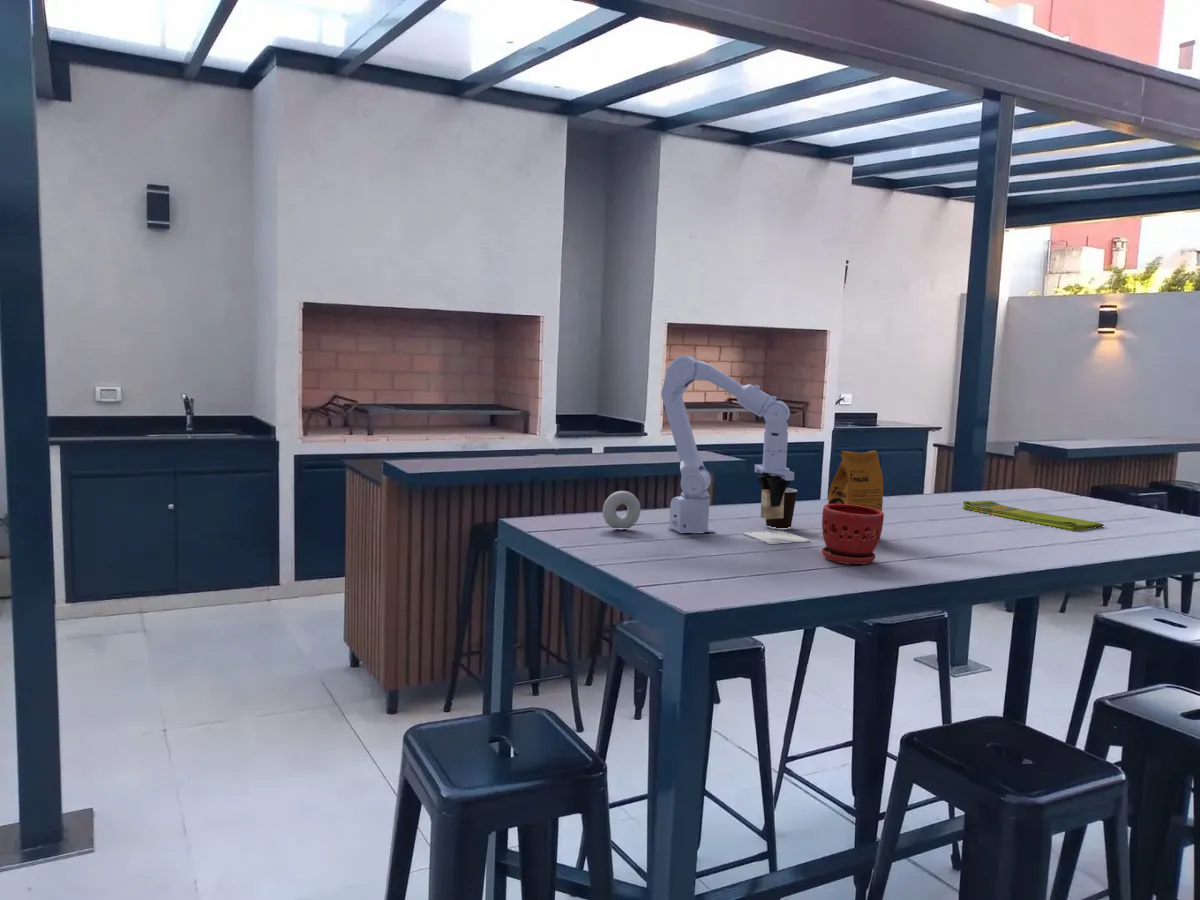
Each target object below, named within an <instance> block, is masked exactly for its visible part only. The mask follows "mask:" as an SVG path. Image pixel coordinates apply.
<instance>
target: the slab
mask: <svg viewBox="0 0 1200 900" xmlns="http://www.w3.org/2000/svg"><path fill="white" fill-rule="evenodd" d="M760 498H761V500H760V501H761V502H760V504H761V505H760V518H761V519H764V520H766V519H777V518H783V514H784V495H783V497H782V501H781V504H780V506H779V507H772V506H771V500H770V489H763V490H762V489H761V497H760Z"/></svg>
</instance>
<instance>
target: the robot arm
mask: <svg viewBox="0 0 1200 900" xmlns="http://www.w3.org/2000/svg"><path fill="white" fill-rule="evenodd" d="M665 371H666V373H665V378H664V381H663V385H662V388H661V391H660V392H661V393H660V394H661V399H662V402H663V405H664V409H665V412H666V416H667V421H668V423H669V427H670V430H671V434H672V437H673V442H674V444H675V447H676V452H677V455H678V458H679V462H680V463H679V471H680V474H681V475H680V476H681V478H680V488H681V491H682V492H681V493H680V496H679V495H678V496H675V497H673V498H672V499H671V501H670V504H669V505H670V506H669V507H670V508H669V522H668V523H669V525H668V526H667V528H668V527H670V528H672V529H674V530H676V531H678V532H680V533H679V534H681V533H692V534H701V533H700V532H710V533H715V532H716V530H715V529H711V528H710V527H709V522H710V521H709V520H710V499H711V498H710V497H711V495H710V493H709V492H708V489H709V487H710V485H711V484H712V483H711V482H712V476H711V474H710V472H709V471H708V469H706V467H705V465H704V461H703V459H702V458H701V457H700V455H699V451H698V447H697V444H696V440H695V437H694V434H693V430H692V426H691V423H690V420H689V416H688V412H687V409H686V408H687V407H686V405H685V401H684V398H683V395H684V393H685V392H686V391H687V389H688V387H689V386H690V385H691V384H692V383H693V382H694V381H701V382H703V381H704V382H706V381H707V382H709V383H712V384H713V385H715V386H717V387H718V388H721V389H722V390H724V391H726V392H727V393H730V394H731V395H733V396H735V397H736V400H737V403H738V405H739V406H741V407H742V408H744V409H746V410H748V411H749V412H751V413H753V414H754V415H756V416H758V417H759V418H761V417H763V419H764V421H765V431H764V433H763V447H762V448H763V449H762V452H763V453H762V464H761V463H760V464H754V473H760V474H761V475H757V476H756V479H757V481H758V483H759V486H760V489H761V491H762V490H763V489H770V500H771V506H772V507H779V506H780V504H781V501H782V497H783V495H784V492H785V490H786V488H788V486H789V485H790V484H791V481H795V471H791V470H790V468H789V467H787V457H788V455H787V454H788V443H789V442H788V440H789V438H788V437H789V432H788V429H789V424H788V420H789V419H790V415H791V414H790V413H791V412H790V408H789V406H788V405H787V403H785V402H784V401H783V400H777V396H775V395H773V396H772V395H770V394H768V393H766V392H764V391H763V390H761V389H760V388H761V386H760V385H758V384H754V385H753V384H751V383H749V384H746V385H743V384H742V383H740V382H738V381H736V380H735V379H734V378H732V377H730V376H729V375H727V374H726V373H724V372H722V371H721V370H719V369H718V368H716V367H715V366H713V365H712V364H709V363H708V362H706V361H703V360H698V358H696V357H694V356H691V355H687V356H685V355H682V356H677V357H676V358H674V359H673V360H672V362H670V364H669V365H668V367H667V368H666V370H665ZM672 529H671V530H672ZM674 530H673V531H674ZM676 531H675V532H676ZM714 531H715V532H714ZM678 532H677V533H678ZM697 532H699V533H697Z"/></svg>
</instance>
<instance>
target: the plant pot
mask: <svg viewBox="0 0 1200 900" xmlns="http://www.w3.org/2000/svg"><path fill="white" fill-rule="evenodd" d="M884 514H885V513H884V512H883V510H882V511H880V510H877V509H874V508H870V507H865V506H859V505H851V504H828V503H827V504H825V505H824V506H823V508H822V515H821V516H822V518H821V527H822V528H821V530H822V537H823V541H824V544H825V545H826V546H824V547H822V549H821V553H822V555H823V557H824V558H825V559H827V560H828V559H829V560H828V561H831V562H833V563H837V562H838V563H837V564H842V563H844V565H850V564H862V565H867V564H870V563H872V562H873V561H875V558H876V554H875V553H874V551H875V550H876V548H877V546H878V543H879V542H880V539H881V534H882V531H883V525H884V518H885V515H884ZM835 525H836V526H835ZM836 527H837V528H836ZM875 529H876V534H875V536H873V531H874V530H875Z"/></svg>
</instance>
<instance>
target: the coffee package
mask: <svg viewBox="0 0 1200 900" xmlns="http://www.w3.org/2000/svg"><path fill="white" fill-rule="evenodd" d="M839 456H840V457H841V460H842V461H841V462H840V464H839V466H838V470H837V471H836V474H834V477H833V479H832V481H831V484H830V488H829V491H828V499H827V501H828V502H827V504H851V505H859V506H865V507H870V508H874V509H877V510H880V511H882V512H883V505H884V503H883V501H884V499H883V498H884V497H883V496H884V475H883V472H882V467H881V465H880V459H879V456H878V452H877V450H869V451H866V452H857V451H856V452H855V451H847V450H846V451H844V450H841V452H840V454H839ZM835 526H836V525H835ZM836 528H837V527H836ZM875 534H876V529H875V530H874V531H873V536H875Z"/></svg>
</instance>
